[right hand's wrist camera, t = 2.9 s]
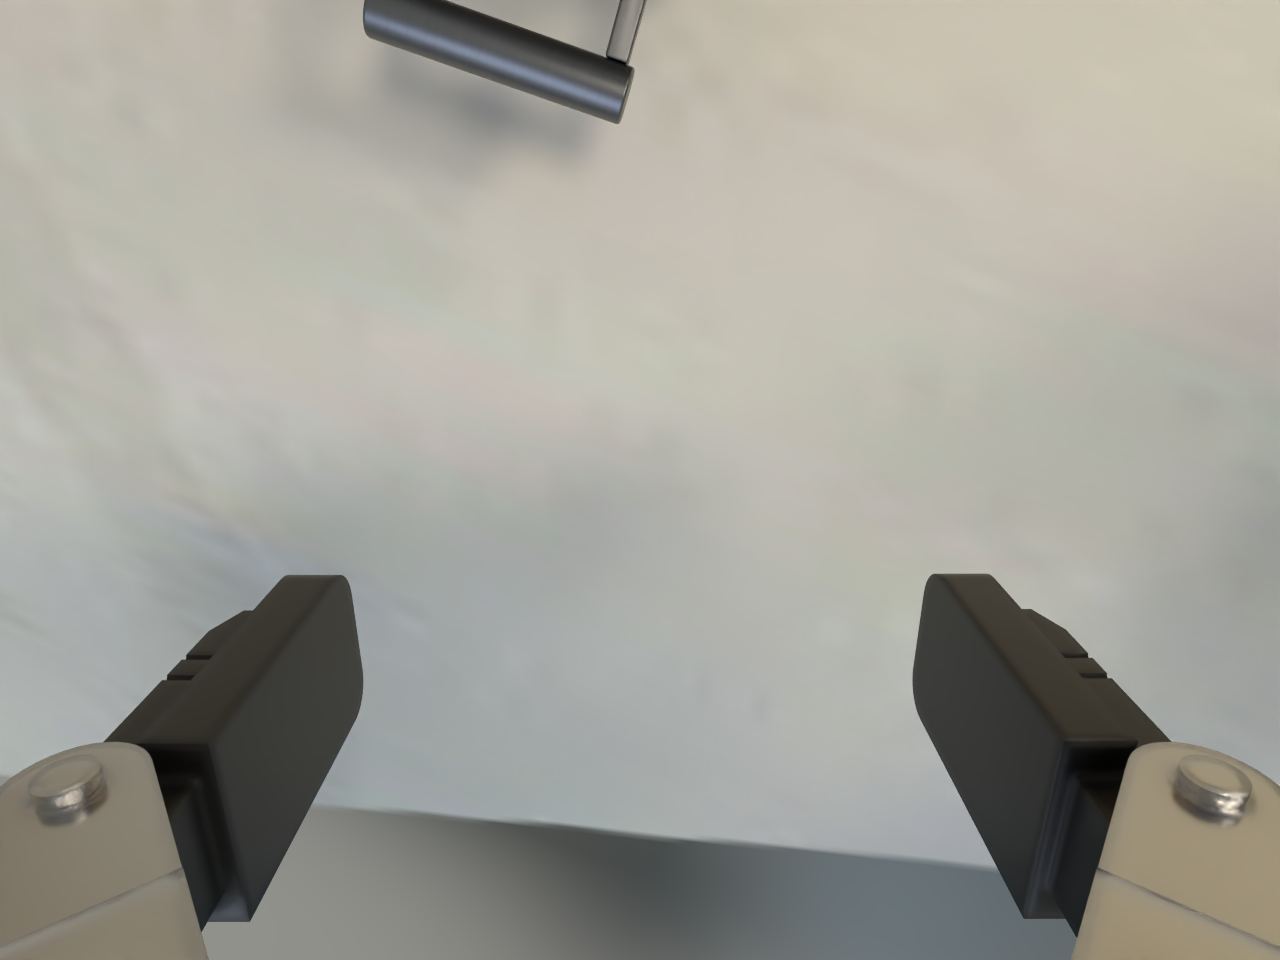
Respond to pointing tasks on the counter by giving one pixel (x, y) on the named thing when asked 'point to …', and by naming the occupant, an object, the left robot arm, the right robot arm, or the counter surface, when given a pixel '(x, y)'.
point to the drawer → (514, 51)
